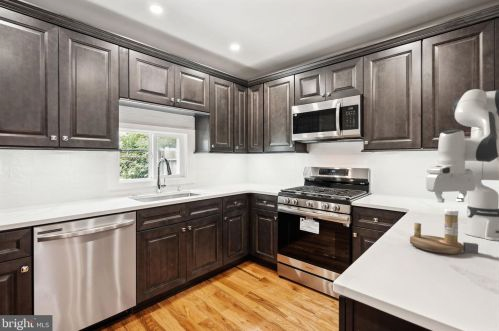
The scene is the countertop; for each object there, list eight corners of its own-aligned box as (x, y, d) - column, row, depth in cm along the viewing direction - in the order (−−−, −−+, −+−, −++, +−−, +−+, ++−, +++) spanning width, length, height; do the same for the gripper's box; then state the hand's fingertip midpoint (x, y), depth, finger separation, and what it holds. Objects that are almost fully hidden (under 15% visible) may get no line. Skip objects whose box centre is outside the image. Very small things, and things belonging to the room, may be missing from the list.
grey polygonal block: (476, 252, 101) (476, 243, 101) (478, 253, 99) (478, 244, 99) (463, 250, 102) (463, 242, 102) (464, 252, 101) (465, 243, 101)
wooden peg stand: (423, 237, 117) (423, 220, 117) (471, 249, 102) (471, 229, 102) (401, 242, 109) (401, 224, 108) (450, 256, 93) (450, 235, 93)
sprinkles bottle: (441, 240, 105) (441, 208, 105) (451, 240, 106) (451, 208, 106) (450, 244, 101) (450, 210, 101) (461, 243, 101) (461, 210, 101)
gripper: (464, 168, 108) (464, 200, 108) (423, 169, 105) (423, 201, 105) (480, 168, 101) (480, 202, 102) (436, 169, 98) (436, 204, 99)
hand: (450, 202), depth 103 cm, fingers open, 8 cm apart
